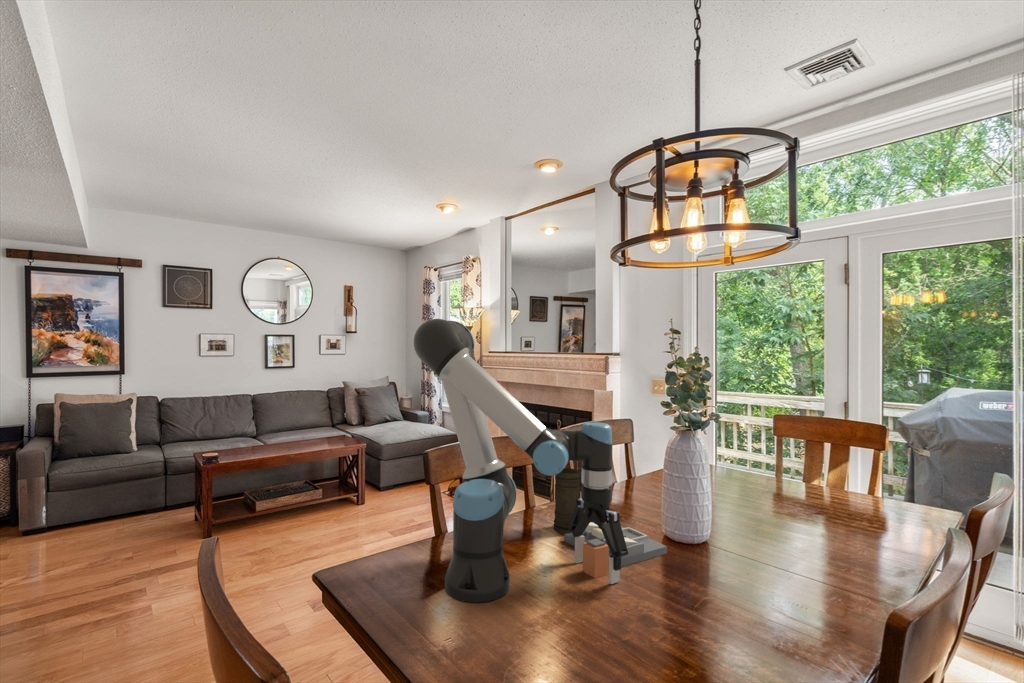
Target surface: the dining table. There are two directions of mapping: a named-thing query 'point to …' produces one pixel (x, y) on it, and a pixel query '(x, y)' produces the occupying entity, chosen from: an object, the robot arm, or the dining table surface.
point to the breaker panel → (635, 552)
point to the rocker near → (629, 542)
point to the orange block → (595, 558)
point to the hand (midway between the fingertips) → (596, 571)
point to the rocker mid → (598, 533)
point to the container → (566, 498)
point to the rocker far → (591, 526)
